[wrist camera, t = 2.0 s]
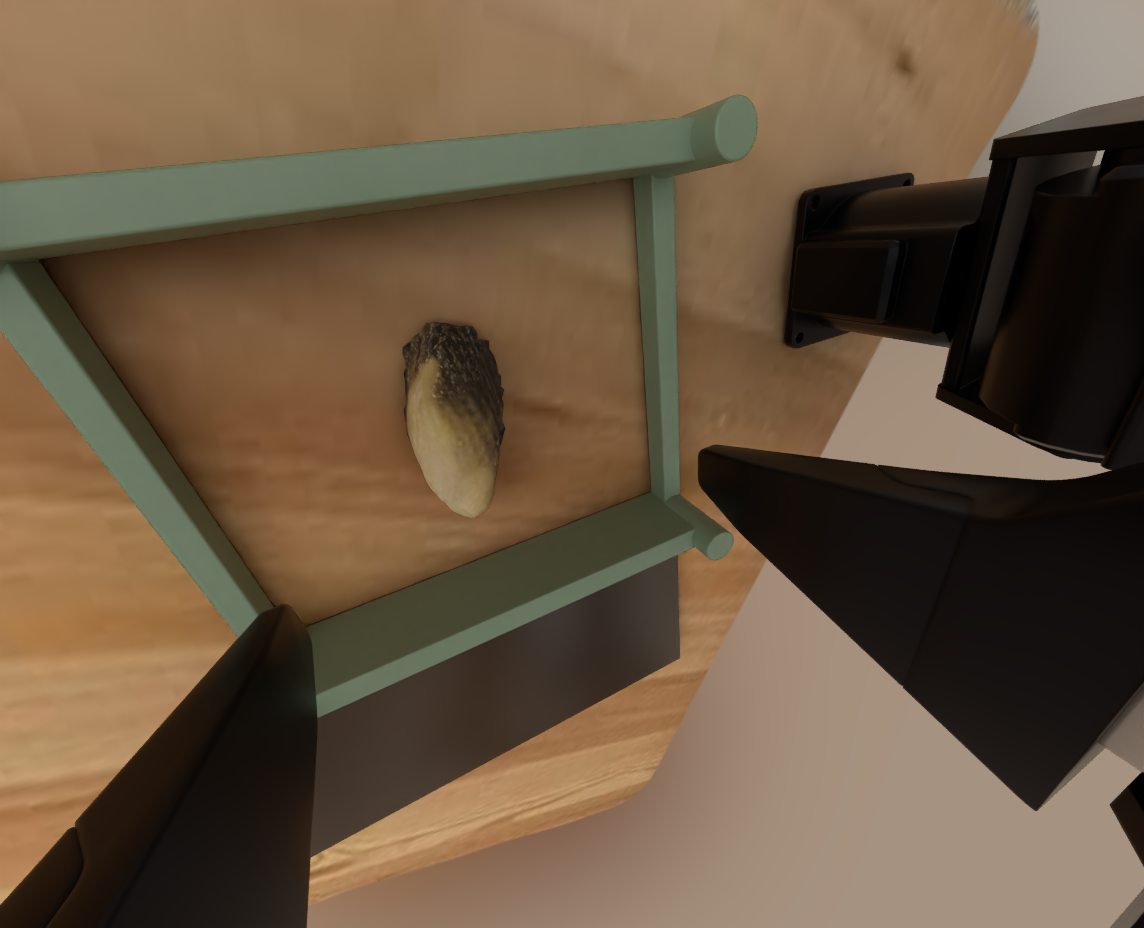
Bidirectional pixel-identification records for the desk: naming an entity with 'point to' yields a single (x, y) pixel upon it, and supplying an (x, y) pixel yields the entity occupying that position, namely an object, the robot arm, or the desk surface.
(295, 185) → the frame
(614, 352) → the desk surface
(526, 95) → the desk surface
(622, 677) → the board
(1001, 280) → the robot arm
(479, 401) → the brazil nut
